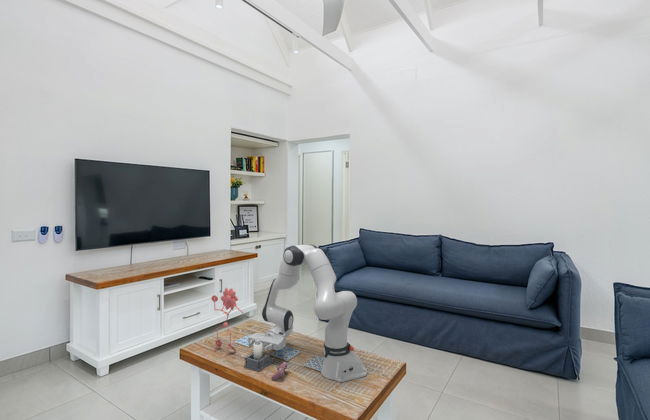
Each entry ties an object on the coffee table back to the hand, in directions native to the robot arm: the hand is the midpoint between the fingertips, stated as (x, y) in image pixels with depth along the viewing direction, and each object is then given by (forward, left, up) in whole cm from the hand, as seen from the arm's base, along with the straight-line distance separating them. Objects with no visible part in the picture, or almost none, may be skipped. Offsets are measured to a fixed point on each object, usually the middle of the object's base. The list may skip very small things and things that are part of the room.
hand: (256, 347), depth 164 cm
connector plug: (-1, -1, -8) cm, 9 cm away
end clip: (-1, -2, -10) cm, 10 cm away
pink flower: (+14, -23, -10) cm, 29 cm away
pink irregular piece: (-11, +12, -10) cm, 19 cm away
